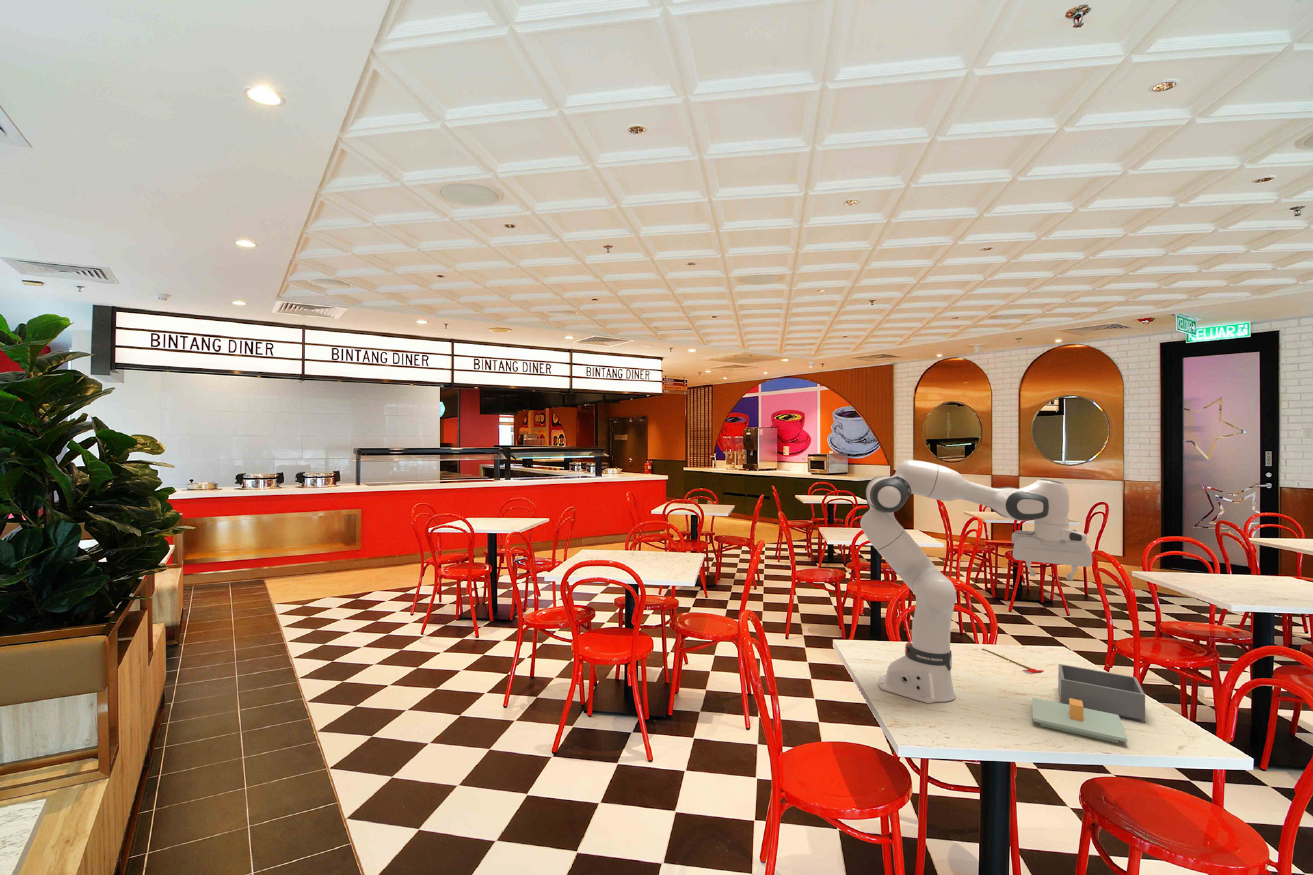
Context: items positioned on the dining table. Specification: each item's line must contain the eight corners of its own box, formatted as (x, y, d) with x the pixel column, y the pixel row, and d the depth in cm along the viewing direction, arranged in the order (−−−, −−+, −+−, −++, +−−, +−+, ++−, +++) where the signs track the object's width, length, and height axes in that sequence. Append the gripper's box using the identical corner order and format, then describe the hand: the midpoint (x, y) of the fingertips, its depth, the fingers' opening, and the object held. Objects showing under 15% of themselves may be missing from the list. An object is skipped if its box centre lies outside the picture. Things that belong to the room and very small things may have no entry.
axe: (1023, 675, 206) (1050, 675, 206) (1023, 672, 206) (1051, 672, 206) (980, 650, 231) (1005, 650, 232) (980, 648, 231) (1005, 648, 232)
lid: (1032, 726, 166) (1032, 703, 166) (1031, 704, 180) (1032, 683, 180) (1127, 747, 155) (1127, 723, 155) (1118, 722, 169) (1118, 700, 169)
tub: (1060, 705, 180) (1061, 679, 180) (1058, 688, 194) (1058, 663, 194) (1144, 722, 170) (1145, 694, 170) (1135, 703, 183) (1136, 677, 183)
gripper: (1011, 530, 183) (1011, 575, 183) (1093, 536, 172) (1092, 584, 172) (1011, 528, 188) (1011, 571, 188) (1091, 534, 178) (1090, 580, 177)
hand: (1050, 577), depth 180 cm, fingers open, 8 cm apart
